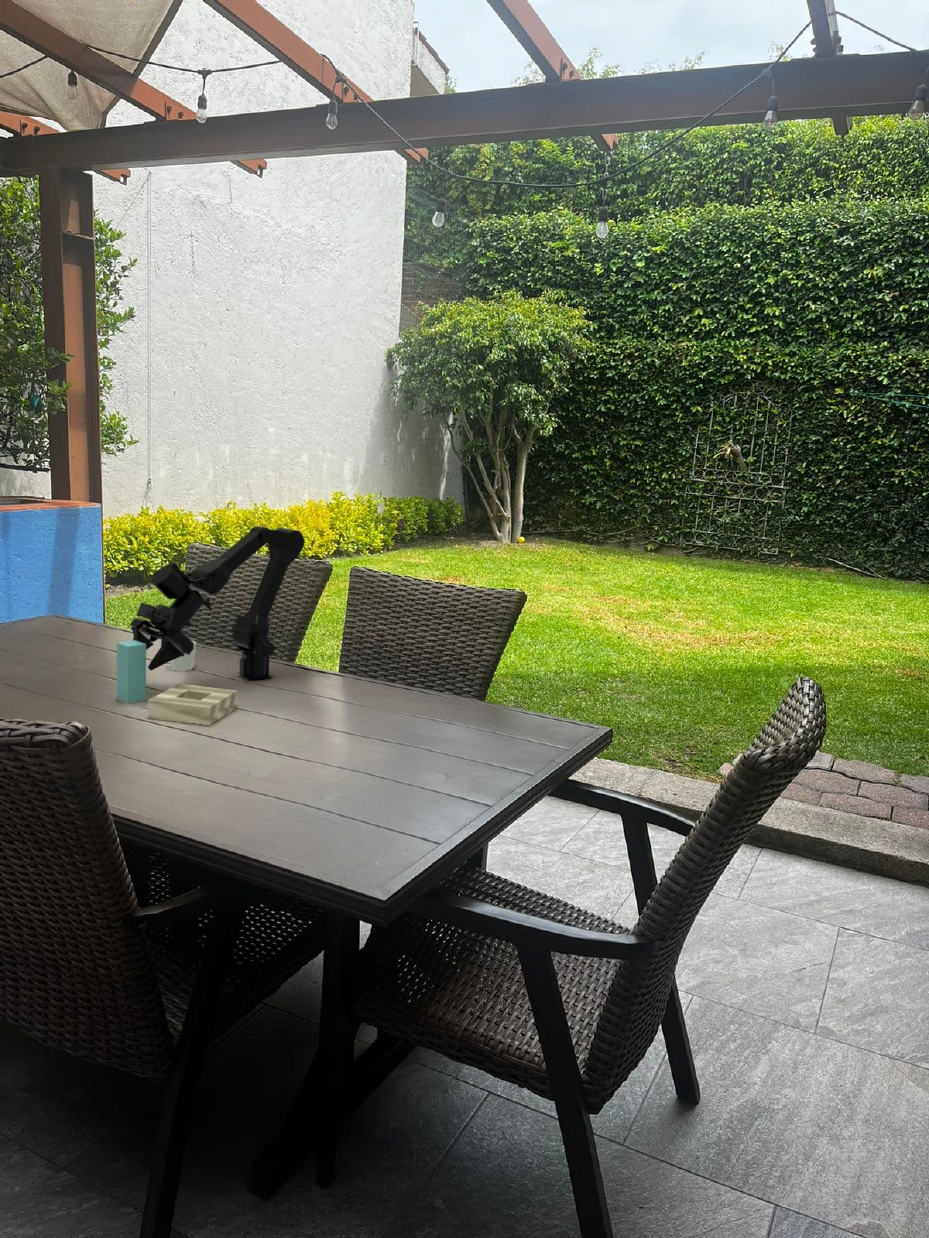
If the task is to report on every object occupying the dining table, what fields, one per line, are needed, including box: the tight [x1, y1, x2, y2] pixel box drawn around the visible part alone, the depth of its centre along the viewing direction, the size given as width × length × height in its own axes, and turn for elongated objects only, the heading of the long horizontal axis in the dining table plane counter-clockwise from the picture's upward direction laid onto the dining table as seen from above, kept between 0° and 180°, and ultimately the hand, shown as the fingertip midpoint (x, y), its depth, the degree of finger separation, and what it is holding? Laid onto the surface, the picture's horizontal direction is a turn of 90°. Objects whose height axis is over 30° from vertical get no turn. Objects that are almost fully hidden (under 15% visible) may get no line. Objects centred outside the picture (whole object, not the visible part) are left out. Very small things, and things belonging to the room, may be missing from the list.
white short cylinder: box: [169, 639, 197, 672], centre depth 235 cm, size 7×7×7 cm
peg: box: [116, 639, 147, 704], centre depth 206 cm, size 4×4×13 cm
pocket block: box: [147, 683, 238, 726], centre depth 200 cm, size 14×14×4 cm
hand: (138, 664), depth 207 cm, fingers open, 9 cm apart
